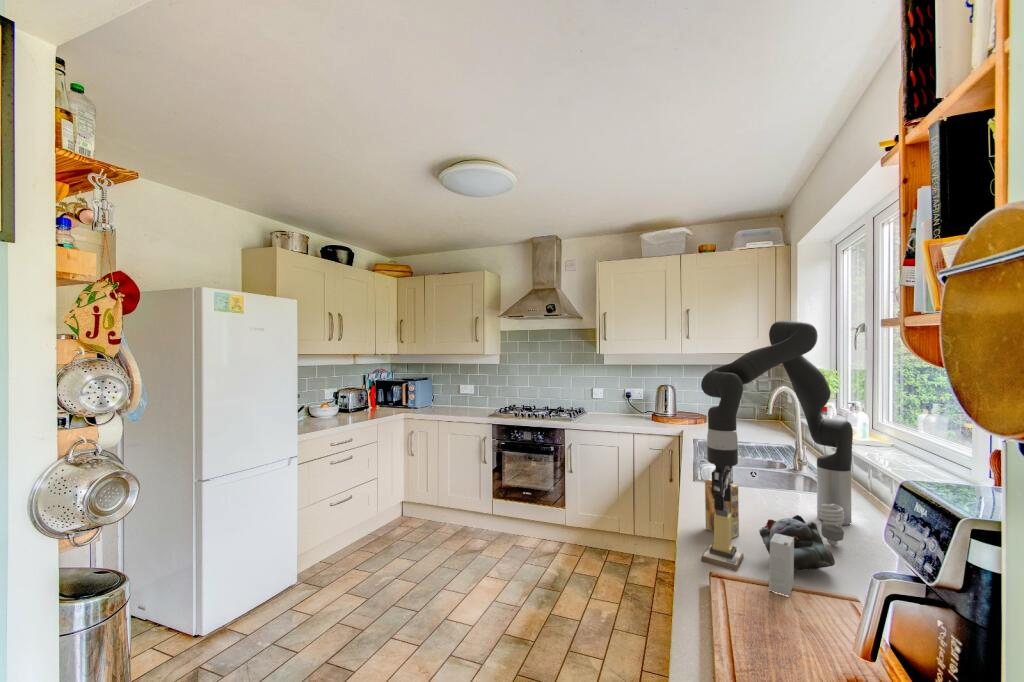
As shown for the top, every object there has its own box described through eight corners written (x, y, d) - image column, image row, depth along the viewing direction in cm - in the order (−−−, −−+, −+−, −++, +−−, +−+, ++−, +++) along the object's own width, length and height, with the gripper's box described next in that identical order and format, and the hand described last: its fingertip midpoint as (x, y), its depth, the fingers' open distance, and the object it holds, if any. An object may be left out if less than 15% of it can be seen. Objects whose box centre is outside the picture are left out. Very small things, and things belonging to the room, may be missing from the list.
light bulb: (840, 543, 130) (840, 501, 131) (847, 551, 125) (847, 508, 125) (817, 540, 132) (817, 499, 132) (824, 548, 127) (823, 506, 127)
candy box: (739, 535, 135) (739, 485, 136) (731, 539, 133) (731, 487, 133) (712, 526, 143) (712, 477, 143) (704, 529, 140) (704, 480, 141)
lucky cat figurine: (768, 574, 112) (751, 515, 119) (773, 575, 121) (757, 520, 128) (838, 570, 106) (816, 508, 113) (838, 571, 115) (817, 514, 122)
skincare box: (773, 581, 109) (772, 531, 109) (794, 588, 106) (794, 536, 106) (768, 592, 104) (767, 540, 104) (790, 599, 101) (790, 545, 102)
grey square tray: (708, 549, 126) (708, 540, 126) (743, 558, 121) (743, 548, 121) (701, 560, 120) (701, 550, 120) (737, 570, 114) (737, 560, 114)
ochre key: (716, 547, 125) (716, 540, 125) (733, 551, 122) (733, 544, 122) (712, 553, 121) (712, 545, 121) (730, 557, 118) (730, 550, 118)
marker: (731, 544, 122) (731, 507, 122) (728, 549, 119) (728, 511, 119) (717, 541, 124) (717, 505, 124) (714, 546, 121) (714, 508, 121)
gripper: (732, 452, 114) (732, 516, 114) (742, 442, 125) (743, 500, 125) (700, 448, 118) (701, 510, 118) (713, 439, 130) (714, 495, 130)
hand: (722, 505), depth 122 cm, fingers open, 8 cm apart
